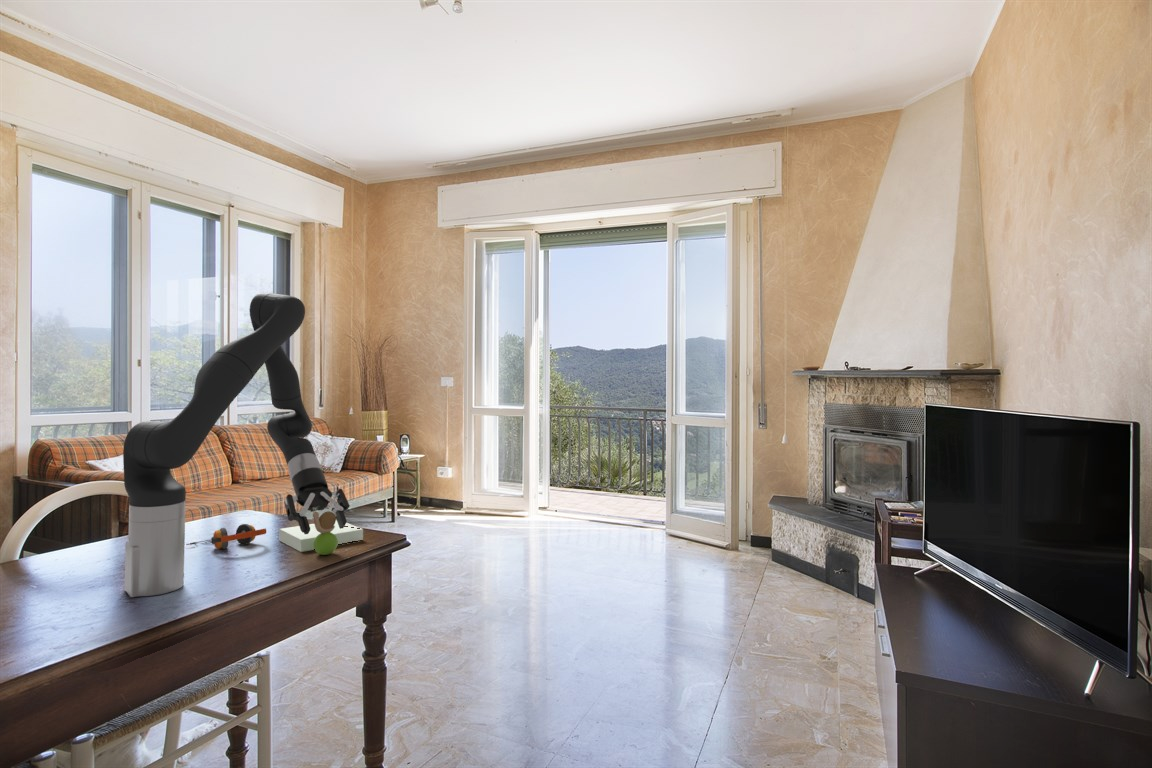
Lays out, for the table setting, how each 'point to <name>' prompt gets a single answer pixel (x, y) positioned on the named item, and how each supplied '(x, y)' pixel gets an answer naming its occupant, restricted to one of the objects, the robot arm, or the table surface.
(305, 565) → the table surface
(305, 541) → the sage board
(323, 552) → the snail figurine
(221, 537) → the headphones
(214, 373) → the robot arm
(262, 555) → the table surface
